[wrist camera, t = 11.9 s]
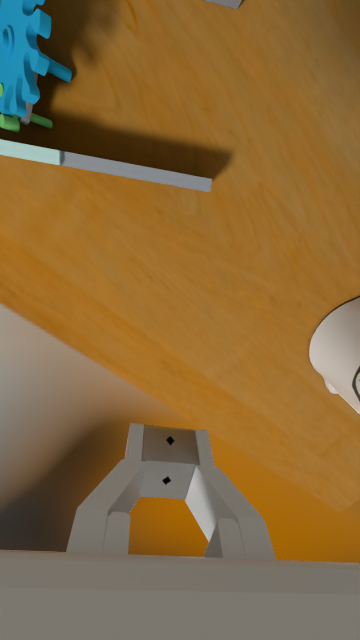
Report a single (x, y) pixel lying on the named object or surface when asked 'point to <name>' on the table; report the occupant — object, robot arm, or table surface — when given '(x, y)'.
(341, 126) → the table surface
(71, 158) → the bay
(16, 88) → the gear
